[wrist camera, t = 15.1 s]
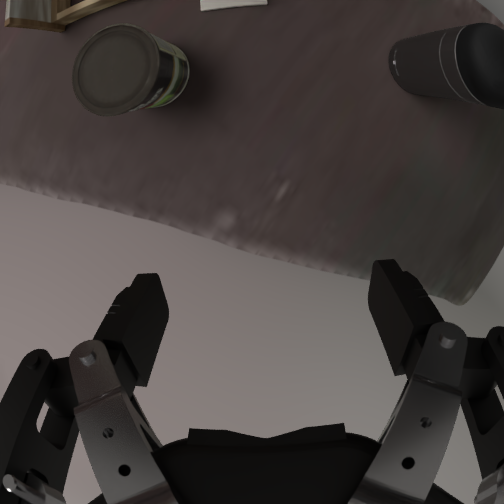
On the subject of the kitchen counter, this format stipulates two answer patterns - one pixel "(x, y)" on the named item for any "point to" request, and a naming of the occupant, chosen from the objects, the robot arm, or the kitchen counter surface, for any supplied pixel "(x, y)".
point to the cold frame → (50, 13)
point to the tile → (228, 4)
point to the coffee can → (127, 71)
